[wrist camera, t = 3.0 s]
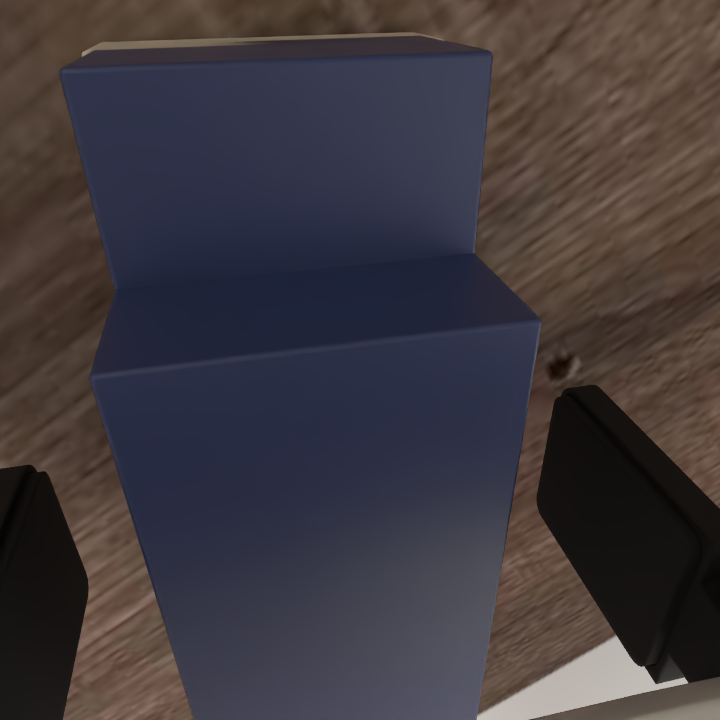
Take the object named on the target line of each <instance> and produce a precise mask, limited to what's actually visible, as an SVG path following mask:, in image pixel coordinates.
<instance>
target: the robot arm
mask: <svg viewBox="0 0 720 720" xmlns="http://www.w3.org/2000/svg"><path fill="white" fill-rule="evenodd" d="M536 500H537V507H538V510H539V513H540V515H541V517H542V518H543V520H544V521H545V523H546V525H547V526H548V528H549V529H550V531H551V533H552V534H553V536H554V537H555V539H556V540H557V542H558V544H559V545H560V547H561V548H562V550H563V551H564V553H565V555H566V556H567V558H568V559H569V561H570V562H571V564H572V566H573V567H574V569H575V570H576V572H577V574H578V575H579V577H580V578H581V580H582V581H583V583H584V585H585V586H586V588H587V589H588V591H589V592H590V594H591V596H592V597H593V599H594V600H595V602H596V604H597V605H598V607H599V608H600V610H601V611H602V613H603V615H604V616H605V618H606V619H607V621H608V622H609V624H610V626H611V627H612V629H613V630H614V632H615V633H616V635H617V637H618V638H619V640H620V641H621V643H622V645H623V646H624V648H625V649H626V651H627V652H628V654H629V656H630V657H631V658H632V660H633V661H634V662H635V663H636V664H637V665H638V666H641V667H642V666H645V668H646V669H647V671H648V673H649V674H650V676H651V677H652V679H653V680H654V682H655V683H656V684H658V683H662V682H666V681H671V680H674V679H679V678H683V677H685V678H686V680H687V681H688V684H684V685H679V686H674V687H670V688H665V689H660V690H656V691H651V692H646V693H642V694H637V695H633V696H629V697H624V698H620V699H616V700H612V701H607V702H603V703H599V704H594V705H590V706H586V707H582V708H578V709H573V710H569V711H565V712H560V713H556V714H552V715H548V716H543V717H539V718H535V719H530V720H720V509H719V508H718V507H717V506H716V505H715V504H714V503H713V502H712V501H711V500H710V499H709V498H708V497H707V496H706V495H705V494H704V493H703V492H702V491H701V489H700V488H699V487H698V486H697V485H696V484H695V483H694V482H693V481H692V480H691V479H690V478H689V477H688V476H687V475H686V474H685V473H684V472H683V471H682V470H681V469H680V468H679V467H678V466H677V465H676V464H675V463H674V462H673V461H672V460H671V459H670V458H669V457H668V456H667V455H666V454H665V453H664V452H663V451H662V450H661V449H660V448H659V447H658V446H657V445H656V444H655V443H654V442H653V441H652V440H651V439H650V438H649V437H648V436H647V435H646V434H645V433H644V432H643V431H642V430H641V429H640V428H639V427H638V426H637V425H636V424H635V423H634V422H633V421H632V420H631V419H630V418H629V417H628V416H627V415H626V414H625V413H624V412H623V411H622V410H621V409H620V408H619V407H618V406H617V405H616V404H615V403H614V402H613V401H612V400H611V399H610V398H609V397H608V396H607V395H606V394H605V393H604V392H603V391H602V390H601V389H600V388H599V387H598V386H596V385H587V386H580V387H573V388H567V389H565V390H564V391H563V392H562V395H561V397H558V398H556V400H555V402H554V406H553V411H552V417H551V422H550V427H549V433H548V438H547V444H546V449H545V454H544V460H543V465H542V470H541V476H540V481H539V487H538V492H537V499H536ZM88 589H89V587H88V578H87V574H86V572H85V569H84V566H83V564H82V561H81V559H80V556H79V553H78V551H77V548H76V546H75V543H74V540H73V538H72V535H71V532H70V530H69V527H68V525H67V522H66V519H65V517H64V514H63V512H62V509H61V506H60V504H59V501H58V499H57V496H56V493H55V491H54V488H53V486H52V483H51V480H50V478H49V476H48V474H47V473H46V472H44V471H42V472H37V471H36V469H35V468H34V467H33V466H32V465H24V466H17V467H10V468H3V469H0V720H63V715H64V711H65V706H66V701H67V696H68V691H69V686H70V681H71V677H72V672H73V667H74V662H75V657H76V652H77V647H78V643H79V638H80V633H81V628H82V623H83V618H84V614H85V609H86V604H87V599H88Z"/></svg>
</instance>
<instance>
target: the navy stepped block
mask: <svg viewBox="0 0 720 720" xmlns="http://www.w3.org/2000/svg"><path fill="white" fill-rule="evenodd" d="M492 59H493V56H492V52H490V51H488V50H484V49H480V48H475V47H471V46H466V45H461V44H457V43H452V42H448V41H444V39H441V38H437V37H433V36H428V35H423V34H418V33H414V32H400V33H369V34H338V35H308V36H277V37H246V38H215V39H184V40H153V41H123V42H101V43H99V44H97V45H95V46H93V47H91V48H89V49H87V50H85V51H84V52H82V57H81V58H79V59H77V60H75V61H74V62H72V63H70V64H68V65H66V66H64V67H63V68H61V69H60V71H59V76H60V80H61V84H62V88H63V92H64V96H65V99H66V103H67V107H68V111H69V115H70V119H71V123H72V127H73V131H74V135H75V139H76V142H77V146H78V150H79V154H80V158H81V162H82V166H83V170H84V174H85V178H86V182H87V185H88V189H89V193H90V197H91V201H92V205H93V209H94V213H95V217H96V221H97V225H98V228H99V232H100V236H101V240H102V244H103V248H104V252H105V256H106V260H107V264H108V268H109V271H110V275H111V279H112V283H113V287H114V291H115V292H114V296H113V299H112V302H111V306H110V309H109V312H108V316H107V319H106V322H105V326H104V329H103V332H102V336H101V339H100V342H99V346H98V349H97V352H96V356H95V359H94V362H93V366H92V369H91V372H90V376H89V380H90V383H91V386H92V390H93V393H94V396H95V399H96V403H97V406H98V409H99V412H100V416H101V419H102V422H103V425H104V429H105V432H106V435H107V438H108V442H109V445H110V448H111V452H112V455H113V458H114V461H115V465H116V468H117V471H118V474H119V478H120V481H121V484H122V487H123V491H124V494H125V497H126V500H127V504H128V507H129V510H130V513H131V517H132V520H133V523H134V527H135V530H136V533H137V536H138V540H139V543H140V546H141V549H142V553H143V556H144V559H145V562H146V566H147V569H148V572H149V575H150V579H151V582H152V585H153V588H154V592H155V595H156V598H157V601H158V605H159V608H160V611H161V615H162V618H163V621H164V624H165V628H166V631H167V634H168V637H169V641H170V644H171V647H172V650H173V654H174V657H175V660H176V663H177V667H178V670H179V673H180V676H181V680H182V683H183V686H184V690H185V693H186V696H187V699H188V703H189V706H190V709H191V712H192V716H193V719H194V720H476V719H477V713H478V707H479V701H480V695H481V688H482V682H483V676H484V670H485V664H486V658H487V652H488V646H489V640H490V634H491V628H492V622H493V616H494V610H495V604H496V598H497V591H498V585H499V579H500V573H501V567H502V561H503V555H504V549H505V543H506V537H507V531H508V525H509V519H510V513H511V507H512V501H513V494H514V488H515V482H516V476H517V470H518V464H519V458H520V452H521V446H522V440H523V434H524V428H525V422H526V416H527V410H528V404H529V397H530V391H531V385H532V379H533V373H534V367H535V361H536V355H537V349H538V343H539V337H540V331H541V325H542V323H541V319H540V318H539V317H538V316H537V315H536V314H535V313H534V312H533V311H532V310H531V309H530V308H529V307H528V306H527V305H526V304H525V303H524V302H523V301H522V300H521V299H520V298H519V297H518V296H517V295H516V294H515V293H514V292H513V291H512V290H511V289H510V288H509V287H508V286H507V285H506V284H505V283H504V282H503V281H502V280H501V279H500V278H499V277H498V276H497V275H496V274H494V273H493V272H492V271H491V270H490V269H489V268H488V267H487V266H486V265H485V264H484V263H483V262H482V261H481V260H480V259H479V258H478V257H477V256H476V255H475V245H476V235H477V224H478V213H479V202H480V191H481V180H482V169H483V158H484V147H485V136H486V125H487V114H488V103H489V92H490V81H491V70H492Z"/></svg>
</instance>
